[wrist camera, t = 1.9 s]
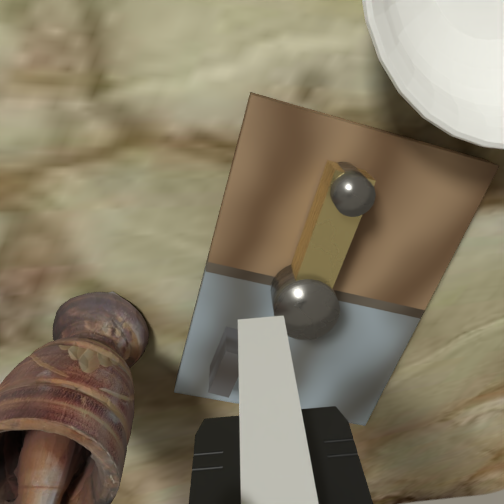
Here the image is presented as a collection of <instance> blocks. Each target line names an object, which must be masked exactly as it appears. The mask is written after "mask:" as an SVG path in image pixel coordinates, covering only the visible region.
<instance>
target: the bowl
mask: <svg viewBox="0 0 504 504" xmlns="http://www.w3.org/2000/svg"><path fill="white" fill-rule="evenodd" d="M362 3H363V9H364V16H365V22H366V25H367V27H368V30H369V33H370V36H371V39H372V42H373V45H374V48H375V50H376V53H377V56H378V59H379V61H380V63H381V65H382V66H383V68H384V70H385V71H386V73H387V75H388V76H389V78H390V80H391V81H392V83H393V84H394V86H395V88H396V89H397V91H398V93H399V94H400V95H401V96H402V97H403V98H404V99H405V100H406V101H407V102H408V103H409V104H410V105H411V106H412V107H413V108H414V109H415V110H416V111H417V113H418V114H419V115H420V116H421V117H422V118H424V119H425V120H427V121H428V122H430V123H431V124H433V125H434V126H436V127H438V128H439V129H441V130H442V131H444V132H445V133H447V134H449V135H450V136H452V137H455V138H458V139H461V140H464V141H467V142H469V143H472V144H475V145H478V146H481V147H487V148H496V149H504V0H362Z"/></svg>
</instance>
